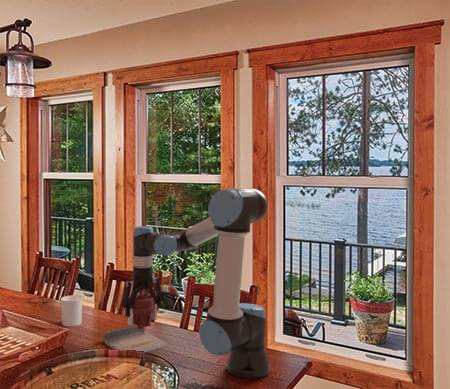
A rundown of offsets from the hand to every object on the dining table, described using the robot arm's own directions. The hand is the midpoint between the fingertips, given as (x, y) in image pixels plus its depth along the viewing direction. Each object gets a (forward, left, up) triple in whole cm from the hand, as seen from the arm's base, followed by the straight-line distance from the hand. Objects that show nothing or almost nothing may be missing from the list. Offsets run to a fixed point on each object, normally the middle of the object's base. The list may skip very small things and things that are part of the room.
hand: (142, 321), depth 174 cm
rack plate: (+7, 0, -11) cm, 13 cm away
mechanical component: (0, 0, -2) cm, 2 cm away
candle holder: (+47, +11, -11) cm, 49 cm away
